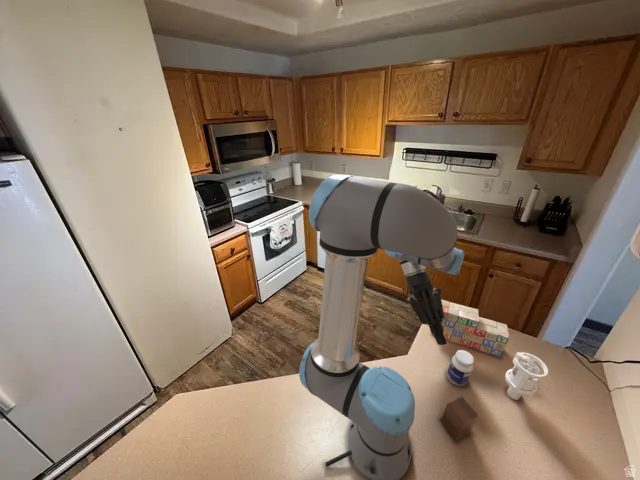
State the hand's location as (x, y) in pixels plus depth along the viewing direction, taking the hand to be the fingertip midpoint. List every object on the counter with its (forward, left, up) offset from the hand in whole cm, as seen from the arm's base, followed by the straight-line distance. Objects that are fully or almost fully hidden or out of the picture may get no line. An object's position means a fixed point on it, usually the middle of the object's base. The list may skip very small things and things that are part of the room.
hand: (442, 344), depth 83 cm
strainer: (+11, -18, -7) cm, 22 cm away
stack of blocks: (+14, +2, -7) cm, 15 cm away
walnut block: (-11, -18, -6) cm, 22 cm away
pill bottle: (0, -8, -7) cm, 10 cm away
